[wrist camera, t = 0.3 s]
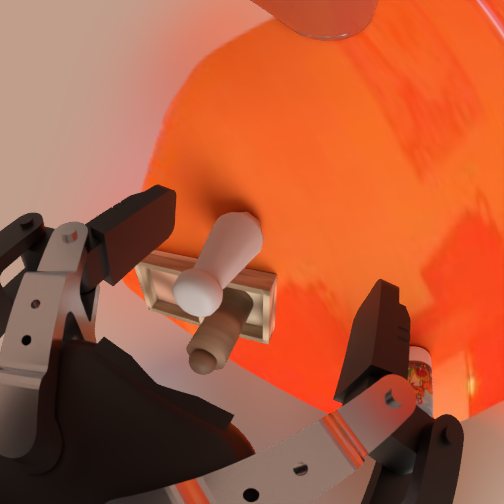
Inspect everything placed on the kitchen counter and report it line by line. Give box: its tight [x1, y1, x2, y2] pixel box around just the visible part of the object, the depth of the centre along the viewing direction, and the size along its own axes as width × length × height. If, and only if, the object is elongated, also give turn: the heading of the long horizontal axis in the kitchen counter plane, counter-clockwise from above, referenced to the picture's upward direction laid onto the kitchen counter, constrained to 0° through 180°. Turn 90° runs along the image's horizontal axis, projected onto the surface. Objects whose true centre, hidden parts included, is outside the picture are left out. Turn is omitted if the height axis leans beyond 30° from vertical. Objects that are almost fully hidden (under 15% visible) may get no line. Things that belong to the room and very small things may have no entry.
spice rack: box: [135, 250, 277, 344], centre depth 40 cm, size 10×20×3 cm, turn 92°
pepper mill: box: [187, 287, 254, 375], centre depth 34 cm, size 5×5×12 cm
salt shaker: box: [172, 211, 264, 317], centre depth 28 cm, size 6×6×13 cm
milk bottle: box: [408, 346, 433, 417], centre depth 29 cm, size 8×8×20 cm
